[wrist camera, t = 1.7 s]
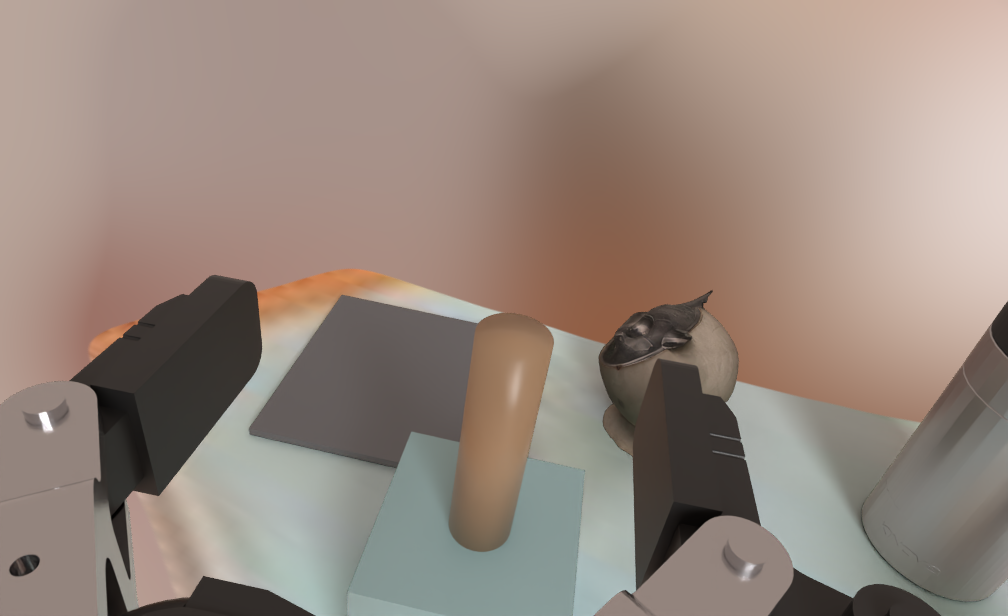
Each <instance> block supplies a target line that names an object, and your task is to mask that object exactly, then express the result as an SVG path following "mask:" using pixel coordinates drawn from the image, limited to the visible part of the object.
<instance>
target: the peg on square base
mask: <svg viewBox="0 0 1008 616" xmlns="http://www.w3.org/2000/svg"><path fill="white" fill-rule="evenodd" d="M553 345H554V340H553V336H552V334H551V332H550V331H549V330H548V328H547V327H546V326H544V325H543V324H542V323H540V322H539V321H537V320H535V319H533V318H531V317H528V316H525V315H521V314H515V313H499V314H494V315H491V316H488V317H486V318H484V319H483V320H481V321H480V322H479V324H478V325H477V327H476V329H475V335H474V342H473V349H472V357H471V364H470V371H469V378H468V385H467V393H466V400H465V407H464V414H463V421H462V429H461V436H460V442H456V441H452V440H447V439H443V438H438V437H434V436H429V435H425V434H420V433H416V432H411V434H410V436H409V439H408V441H407V444H406V446H405V449H404V451H403V454H402V456H401V459H400V461H399V464H398V466H397V469H396V471H395V474H394V476H393V479H392V481H391V484H390V486H389V489H388V491H387V494H386V496H385V499H384V501H383V504H382V506H381V509H380V511H379V514H378V516H377V519H376V521H375V524H374V526H373V529H372V531H371V534H370V536H369V539H368V541H367V544H366V546H365V549H364V551H363V554H362V556H361V559H360V561H359V564H358V566H357V569H356V571H355V574H354V576H353V579H352V581H351V584H350V586H349V589H348V591H347V616H573V605H574V593H575V581H576V569H577V558H578V546H579V534H580V522H581V510H582V498H583V487H584V475H585V470H581V469H576V468H572V467H568V466H563V465H559V464H554V463H550V462H545V461H541V460H536V459H532V458H528V454H529V449H530V445H531V441H532V436H533V432H534V428H535V423H536V419H537V415H538V410H539V406H540V402H541V397H542V393H543V389H544V384H545V380H546V376H547V371H548V367H549V363H550V358H551V354H552V350H553Z"/></svg>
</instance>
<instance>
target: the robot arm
mask: <svg viewBox="0 0 1008 616" xmlns="http://www.w3.org/2000/svg"><path fill="white" fill-rule="evenodd" d="M261 353H262V339H261V329H260V318H259V308H258V298H257V290H256V287H255V285H254V284H253V283H252V282H249V281H244V280H239V279H233V278H228V277H223V276H217V275H212V276H210V277H209V278H208V279H206V280H205V281H204V282H203V283H202V284H201V285H200V286H199V287H197V288H196V289H195V290H194V291H193V292H192V293H191V294H190V295H184V294H182V295H179V296H177V297H175V298H173V299H170V300H168V301H166V302H164V303H161V304H159V305H157V306H156V307H154V308H153V309H152V310H151V311H150V312H149V313H148V314H146V315H145V316H144V317H143V318H142V319H140V320H139V321H138V325H134V326H132V327H131V328H130V329H129V330H128V331H127V332H125V333H124V334H123V338H118V339H117V340H116V341H115V342H114V343H113V344H112V345H110V346H109V347H108V348H107V349H106V350H105V351H103V352H102V353H101V354H100V355H99V356H98V357H96V358H95V359H94V360H93V361H92V362H91V363H89V364H88V365H87V366H86V367H85V368H84V369H83V370H81V371H80V372H79V373H78V374H77V375H76V376H74V377H73V378H72V379H71V380H70V381H54V382H47V383H43V384H39V385H35V386H32V387H29V388H27V389H25V390H22V391H20V392H18V393H16V394H14V395H13V396H11V397H9V398H8V399H6V400H5V401H4V402H3V403H2V404H0V616H315V615H313V614H311V613H309V612H308V611H306V610H304V609H302V608H300V607H298V606H296V605H295V604H293V603H291V602H289V601H287V600H285V599H283V598H282V597H280V596H278V595H276V594H274V593H272V592H270V591H268V590H264V589H260V588H255V587H251V586H246V585H242V584H237V583H233V582H228V581H223V580H219V579H214V578H210V577H205V576H203V577H202V579H201V581H200V582H199V584H198V585H197V587H196V589H195V590H194V592H193V593H192V595H191V597H190V598H178V599H171V600H165V601H161V602H157V603H153V604H149V605H146V606H143V607H140V608H139V607H138V600H137V592H136V581H135V570H134V558H133V547H132V535H131V524H130V512H129V508H128V505H127V501H126V498H127V497H128V496H129V494H130V493H131V492H132V491H138V492H142V493H147V494H152V495H156V496H159V495H160V494H161V493H162V492H163V490H164V489H165V488H166V486H167V485H168V484H169V483H170V481H171V480H172V479H173V477H174V476H175V475H176V474H177V472H178V471H179V470H180V469H181V467H182V466H183V465H184V463H185V462H186V461H187V460H188V458H189V457H190V456H191V454H192V453H193V452H194V451H195V449H196V448H197V447H198V445H199V444H200V443H201V442H202V440H203V439H204V438H205V437H206V435H207V434H208V433H209V431H210V430H211V429H212V428H213V426H214V425H215V424H216V422H217V421H218V420H219V419H220V417H221V416H222V415H223V413H224V412H225V411H226V410H227V408H228V407H229V406H230V405H231V403H232V402H233V401H234V399H235V398H236V397H237V396H238V394H239V393H240V392H241V390H242V389H243V388H244V387H245V385H246V384H247V383H248V381H249V380H250V379H251V378H252V376H253V375H254V373H255V372H256V370H257V368H258V365H259V362H260V359H261ZM740 440H741V437H740V432H739V428H738V424H737V419H736V417H735V415H734V414H733V413H732V411H731V410H730V409H729V407H728V406H727V405H726V403H725V402H724V400H723V399H722V398H721V397H719V396H714V395H709V394H704V393H703V392H702V386H701V380H700V375H699V369H698V367H697V366H696V365H691V364H686V363H681V362H675V361H670V360H665V359H660V358H658V359H657V360H656V362H655V364H654V367H653V370H652V373H651V376H650V380H649V383H648V386H647V389H646V392H645V395H644V399H643V402H642V405H641V408H640V411H639V414H638V418H637V421H636V426H635V431H634V438H633V482H634V523H635V564H636V591H635V592H634V593H633V594H630V593H629V592H628V591H626V590H624V591H621V592H619V593H618V594H617V595H615V596H614V597H613V598H612V599H611V600H610V601H608V602H607V603H606V604H605V605H604V606H603V607H602V608H601V609H600V610H599V611H598V612H597V613H596V614H595V615H594V616H940V615H939V614H938V613H937V612H936V611H935V610H934V609H933V608H932V607H931V606H929V605H928V604H927V603H925V602H924V601H922V600H921V599H920V598H918V597H916V596H914V595H913V594H911V593H909V592H907V591H905V590H902V589H900V588H897V587H893V586H889V585H884V584H874V585H868V586H866V587H863V588H862V589H860V590H859V591H858V592H857V594H856V595H855V597H854V598H851V597H849V596H847V595H845V594H843V593H841V592H839V591H837V590H835V589H833V588H831V587H828V586H826V585H824V584H822V583H820V582H818V581H816V580H814V579H812V578H810V577H808V576H806V575H804V574H802V573H801V572H799V571H798V570H796V569H795V568H793V565H792V561H791V559H790V556H789V554H788V553H787V551H786V549H785V548H784V546H783V545H782V544H781V543H780V541H779V540H778V539H777V538H776V537H775V536H774V535H772V534H771V533H770V532H769V531H767V530H766V529H765V528H763V527H761V524H760V520H759V516H758V511H757V507H756V503H755V498H754V494H753V489H752V485H751V481H750V476H749V472H748V468H747V463H746V460H744V457H745V454H744V450H743V446H742V443H741V442H740ZM862 522H863V525H864V529H865V531H866V533H867V535H868V537H869V539H870V541H871V543H872V544H873V545H874V547H875V548H876V549H877V551H878V552H879V553H880V555H881V556H882V557H883V558H884V559H885V560H886V561H887V562H888V563H889V564H890V565H891V566H892V567H893V568H895V569H896V570H897V571H898V572H900V573H901V574H902V575H903V576H905V577H906V578H907V579H909V580H911V581H912V582H914V583H915V584H917V585H918V586H920V587H922V588H924V589H926V590H928V591H930V592H932V593H934V594H937V595H940V596H943V597H946V598H949V599H952V600H958V601H965V602H968V601H979V600H982V599H985V598H988V597H989V596H990V595H991V594H992V593H993V592H995V591H996V590H997V589H998V588H999V587H1000V586H1001V585H1002V584H1003V583H1004V582H1005V581H1006V580H1007V579H1008V302H1007V303H1006V304H1005V305H1004V307H1003V308H1002V310H1001V311H1000V313H999V314H998V315H997V317H996V318H995V320H994V321H993V323H992V324H991V325H990V327H989V328H988V329H987V331H986V332H985V334H984V335H983V336H982V338H981V339H980V341H979V342H978V343H977V345H976V346H975V348H974V349H973V350H972V352H971V353H970V355H969V356H968V357H967V359H966V361H965V362H964V363H963V365H962V366H961V368H960V369H959V371H958V372H957V373H956V375H955V376H954V377H953V379H952V380H951V382H950V383H949V385H948V386H947V387H946V389H945V390H944V391H943V393H942V394H941V396H940V397H939V399H938V400H937V402H936V403H935V404H934V405H933V407H932V408H931V410H930V411H929V413H928V414H927V415H926V417H925V418H924V420H923V421H922V422H921V424H920V425H919V426H918V428H917V429H916V431H915V432H914V433H913V435H912V436H911V438H910V439H909V440H908V442H907V443H906V445H905V446H904V447H903V449H902V450H901V452H900V453H899V454H898V456H897V457H896V459H895V460H894V461H893V463H892V464H891V465H890V467H889V468H888V470H887V471H886V472H885V474H884V475H883V477H882V478H881V479H880V481H879V482H878V484H877V485H876V486H875V488H874V489H873V491H872V492H871V493H870V495H869V496H868V498H867V499H866V500H865V502H864V504H863V507H862Z"/></svg>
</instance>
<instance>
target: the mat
mask: <svg viewBox="0 0 1008 616" xmlns="http://www.w3.org/2000/svg"><path fill="white" fill-rule="evenodd" d="M477 325H478V324H477V323H472V322H468V321H463V320H458V319H454V318H449V317H444V316H439V315H435V314H430V313H425V312H421V311H416V310H411V309H406V308H402V307H397V306H392V305H388V304H383V303H378V302H374V301H369V300H364V299H359V298H355V297H350V296H345V295H341V297H340V298H339V300H338V301H337V303H336V304H335V306H334V307H333V308H332V310H331V311H330V313H329V314H328V316H327V317H326V318H325V320H324V321H323V323H322V324H321V326H320V327H319V329H318V330H317V331H316V333H315V334H314V336H313V337H312V339H311V340H310V342H309V343H308V344H307V346H306V347H305V349H304V350H303V352H302V353H301V354H300V356H299V357H298V359H297V360H296V362H295V363H294V365H293V366H292V367H291V369H290V370H289V372H288V373H287V375H286V376H285V378H284V379H283V380H282V382H281V383H280V385H279V386H278V388H277V389H276V390H275V392H274V393H273V395H272V396H271V398H270V399H269V401H268V402H267V403H266V405H265V406H264V408H263V409H262V411H261V412H260V414H259V415H258V416H257V418H256V419H255V421H254V422H253V424H252V425H251V426H250V428H249V432H250V434H251V435H255V436H259V437H264V438H268V439H273V440H277V441H281V442H286V443H290V444H295V445H299V446H303V447H308V448H312V449H316V450H321V451H325V452H330V453H334V454H338V455H343V456H347V457H352V458H356V459H360V460H365V461H369V462H374V463H378V464H382V465H387V466H391V467H395V468H397V466H398V464H399V461H400V459H401V456H402V454H403V451H404V449H405V446H406V444H407V441H408V439H409V436H410V434H411V432H416V433H420V434H425V435H429V436H434V437H438V438H443V439H447V440H452V441H456V442H460V436H461V429H462V421H463V414H464V407H465V400H466V393H467V385H468V378H469V371H470V364H471V357H472V349H473V342H474V335H475V329H476V327H477Z"/></svg>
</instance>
